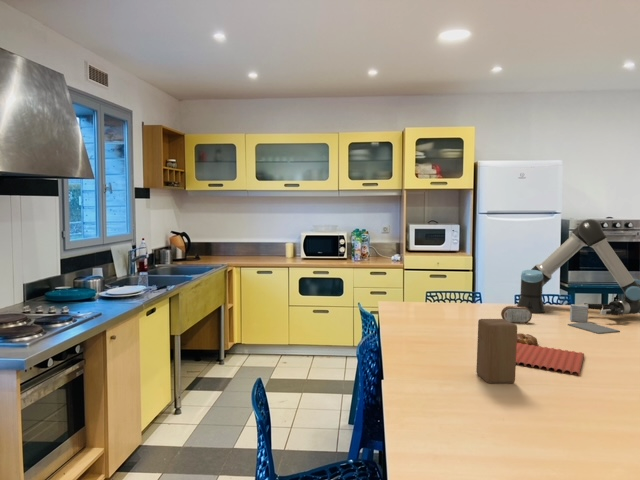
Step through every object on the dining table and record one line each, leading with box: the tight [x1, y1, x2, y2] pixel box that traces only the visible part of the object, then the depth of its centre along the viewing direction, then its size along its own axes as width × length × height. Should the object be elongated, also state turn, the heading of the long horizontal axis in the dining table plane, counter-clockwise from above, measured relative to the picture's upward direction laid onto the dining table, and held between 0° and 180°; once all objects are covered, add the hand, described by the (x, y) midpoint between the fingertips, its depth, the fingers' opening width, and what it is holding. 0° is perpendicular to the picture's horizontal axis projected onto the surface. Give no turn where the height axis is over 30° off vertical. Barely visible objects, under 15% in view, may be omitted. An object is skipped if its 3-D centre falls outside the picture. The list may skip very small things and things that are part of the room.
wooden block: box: [475, 318, 518, 384], centre depth 163 cm, size 10×10×20 cm
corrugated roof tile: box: [516, 343, 585, 377], centre depth 187 cm, size 28×28×2 cm
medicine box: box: [569, 304, 589, 323], centre depth 254 cm, size 8×4×9 cm, turn 71°
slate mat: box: [567, 321, 621, 334], centre depth 239 cm, size 18×14×1 cm
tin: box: [500, 305, 533, 324], centre depth 249 cm, size 15×3×8 cm, turn 84°
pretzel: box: [517, 332, 538, 346], centre depth 210 cm, size 12×11×4 cm
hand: (589, 310), depth 255 cm, fingers open, 13 cm apart
